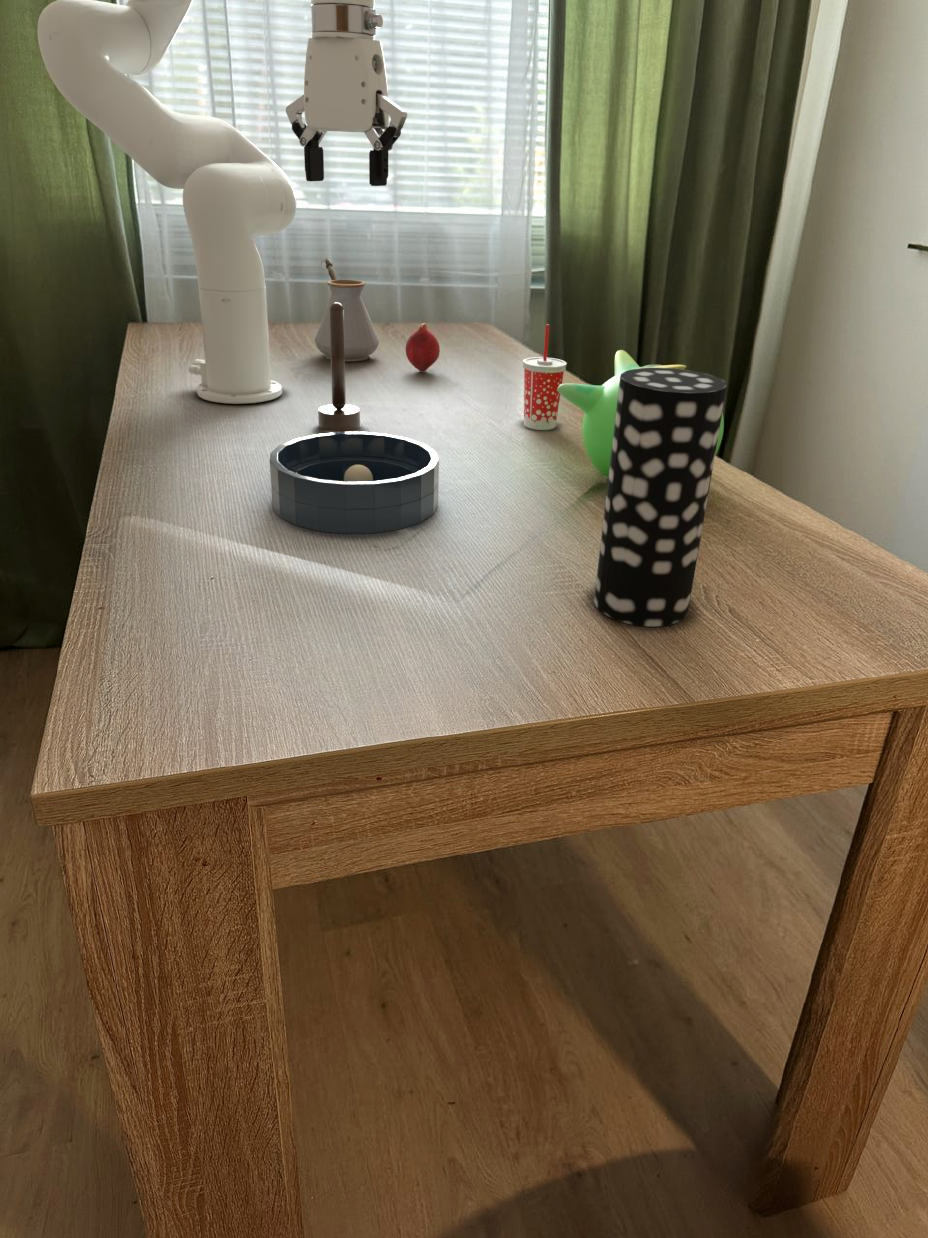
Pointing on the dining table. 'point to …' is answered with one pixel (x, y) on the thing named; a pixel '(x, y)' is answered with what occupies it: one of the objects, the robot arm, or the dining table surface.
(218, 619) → the dining table surface
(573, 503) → the dining table surface
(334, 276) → the coffee pot
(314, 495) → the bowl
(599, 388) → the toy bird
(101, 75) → the robot arm
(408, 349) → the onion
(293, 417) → the dining table surface
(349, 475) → the cream ball
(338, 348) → the brown rod with base
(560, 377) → the beverage cup
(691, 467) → the white-spotted black cylinder
